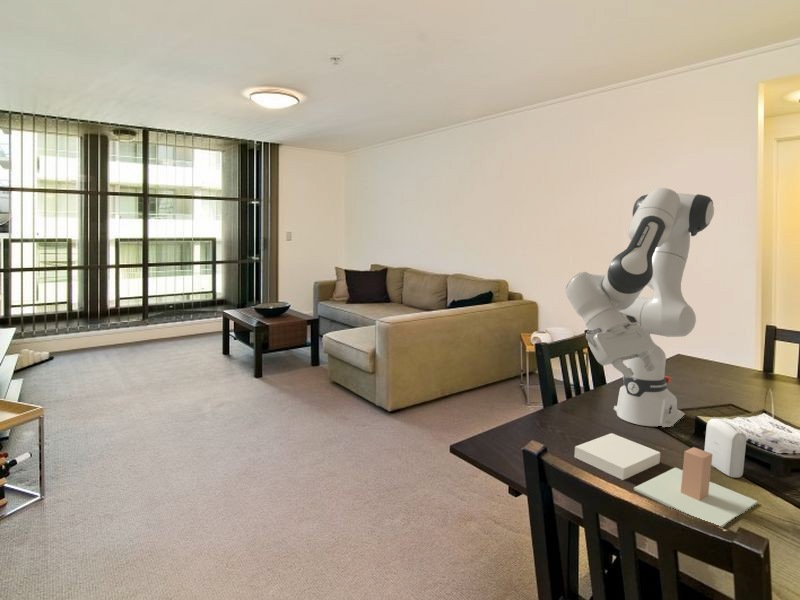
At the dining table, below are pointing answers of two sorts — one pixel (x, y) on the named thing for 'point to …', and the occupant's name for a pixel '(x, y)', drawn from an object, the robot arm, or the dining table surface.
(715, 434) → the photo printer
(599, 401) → the dining table surface
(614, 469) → the block
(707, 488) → the block
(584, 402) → the dining table surface
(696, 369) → the dining table surface
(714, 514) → the mat
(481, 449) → the dining table surface
